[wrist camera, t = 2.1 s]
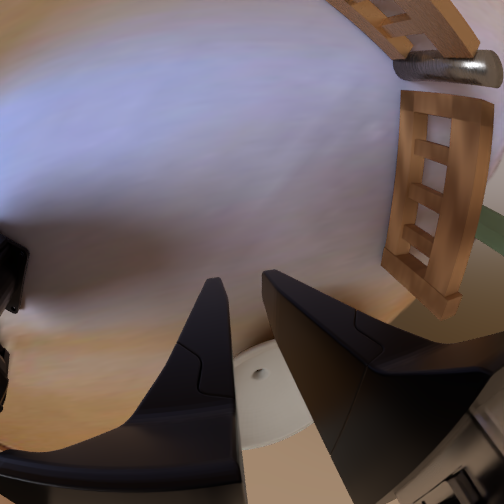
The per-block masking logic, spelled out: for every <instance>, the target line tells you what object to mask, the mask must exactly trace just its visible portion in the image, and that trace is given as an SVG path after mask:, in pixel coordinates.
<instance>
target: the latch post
mask: <svg viewBox="0 0 504 504" xmlns="http://www.w3.org/2000/svg"><path fill="white" fill-rule="evenodd" d="M475 238H476V239H478V240H480V241H481V242H483V243H484V244H486V245H487V246H489V247H491V248H492V249H494V250H495V251H497V252H498V253H500V254H501V255H503V256H504V216H502V215H501V214H499V213H497V212H495V211H493V210H491V209H489V208H488V207H486V206H484V205H482V208H481V213H480V218H479V222H478V226H477V230H476V234H475Z"/></svg>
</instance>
